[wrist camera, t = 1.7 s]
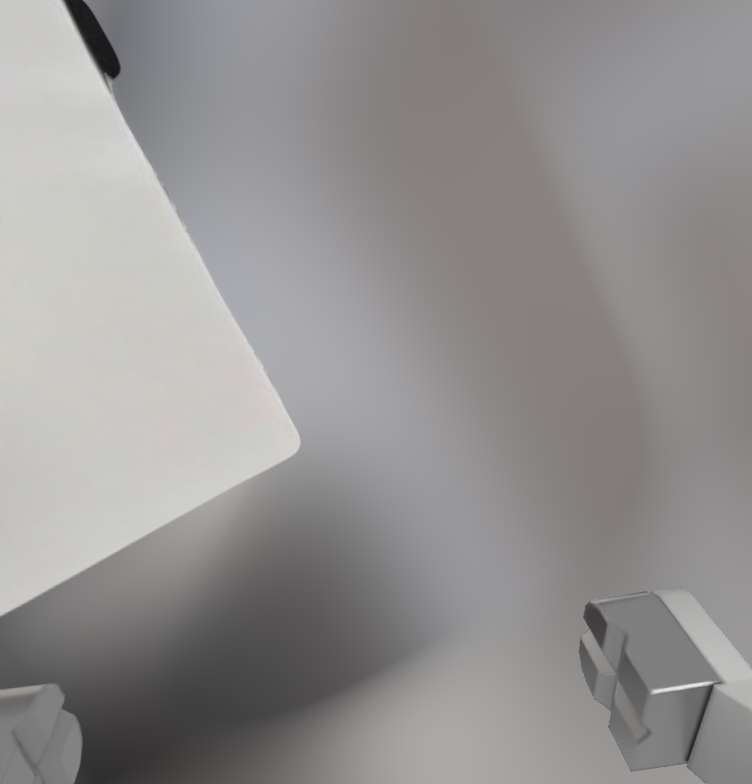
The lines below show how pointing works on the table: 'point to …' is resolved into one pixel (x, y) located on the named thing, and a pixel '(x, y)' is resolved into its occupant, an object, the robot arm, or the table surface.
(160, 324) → the table surface
